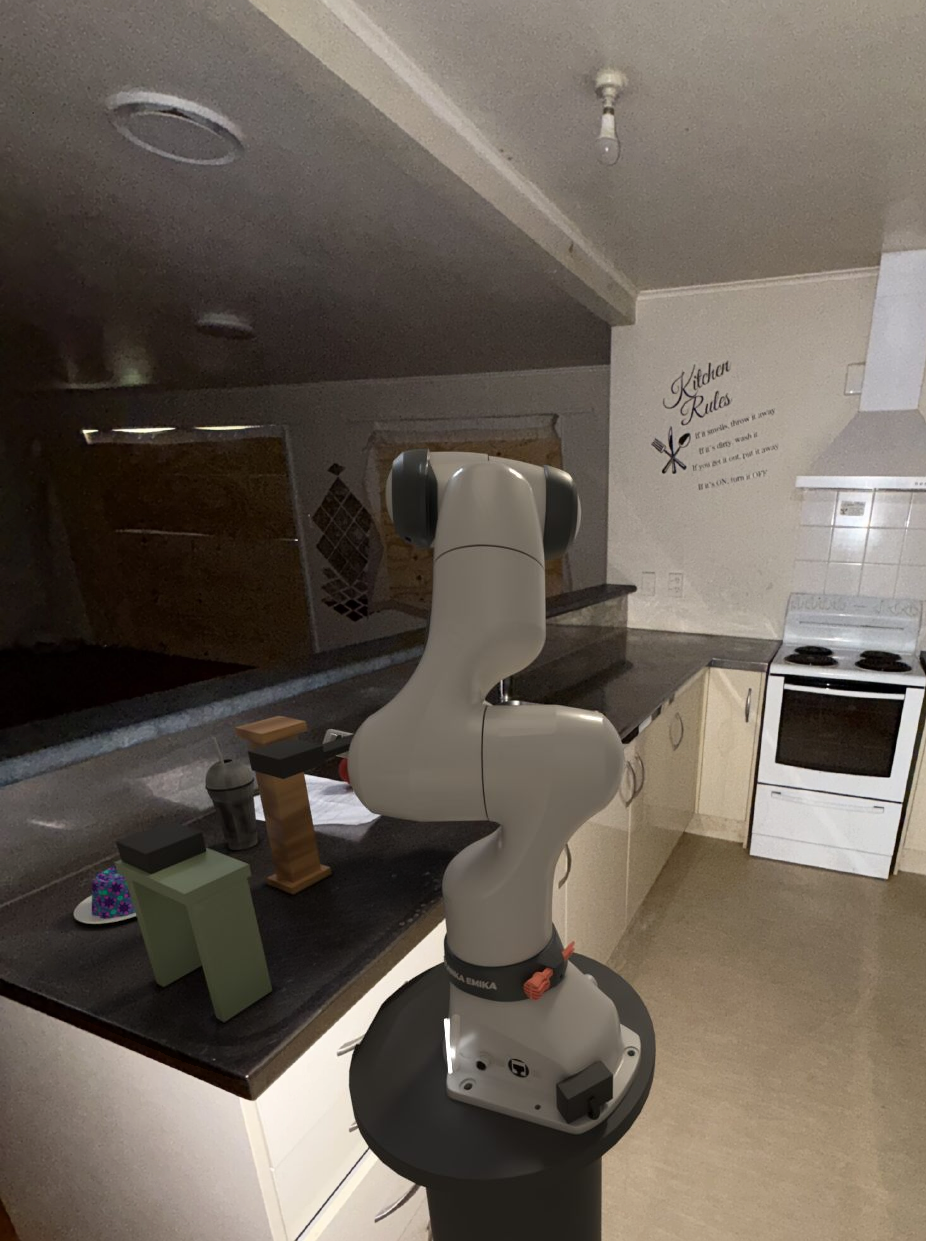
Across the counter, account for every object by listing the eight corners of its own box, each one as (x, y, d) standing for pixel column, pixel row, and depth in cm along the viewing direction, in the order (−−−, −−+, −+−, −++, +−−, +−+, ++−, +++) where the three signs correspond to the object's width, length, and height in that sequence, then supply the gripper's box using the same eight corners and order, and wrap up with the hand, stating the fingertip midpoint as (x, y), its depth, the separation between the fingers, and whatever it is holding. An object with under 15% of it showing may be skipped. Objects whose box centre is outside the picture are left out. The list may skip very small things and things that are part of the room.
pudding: (52, 926, 87) (40, 894, 86) (119, 881, 99) (110, 851, 97) (135, 929, 87) (125, 897, 85) (193, 884, 98) (185, 854, 96)
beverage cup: (276, 837, 113) (254, 730, 106) (243, 856, 106) (218, 744, 99) (243, 832, 115) (220, 726, 108) (209, 850, 108) (182, 739, 101)
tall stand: (331, 873, 101) (305, 721, 92) (293, 894, 95) (261, 733, 86) (306, 864, 104) (279, 715, 95) (267, 884, 98) (234, 727, 89)
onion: (371, 780, 139) (366, 745, 136) (369, 789, 133) (364, 754, 131) (343, 782, 137) (337, 747, 134) (339, 792, 132) (334, 756, 129)
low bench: (276, 988, 76) (249, 864, 70) (219, 1025, 70) (184, 894, 64) (209, 953, 82) (179, 836, 76) (152, 985, 76) (114, 862, 70)
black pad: (378, 745, 86) (376, 727, 86) (283, 779, 75) (279, 759, 74) (348, 738, 89) (345, 721, 88) (251, 770, 77) (247, 751, 76)
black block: (207, 851, 73) (202, 831, 72) (151, 874, 68) (145, 854, 67) (177, 839, 75) (172, 820, 75) (121, 861, 70) (115, 841, 70)
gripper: (371, 733, 102) (298, 709, 90) (469, 754, 93) (404, 730, 81) (359, 771, 101) (285, 751, 89) (458, 795, 92) (390, 778, 80)
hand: (342, 741), depth 85 cm, fingers closed on black pad, 3 cm apart
